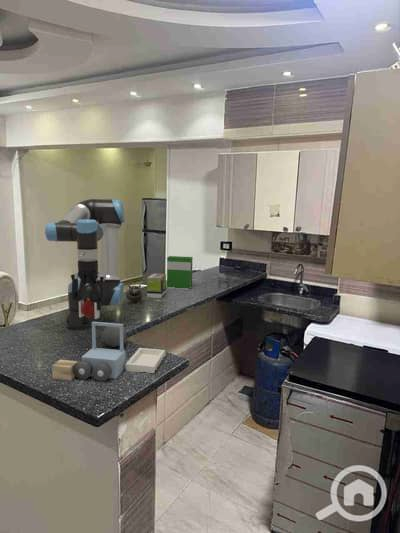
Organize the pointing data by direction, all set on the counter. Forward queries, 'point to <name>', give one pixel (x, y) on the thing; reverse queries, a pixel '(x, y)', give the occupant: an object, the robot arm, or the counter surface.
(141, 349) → the tray
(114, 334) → the decorative ball
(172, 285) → the hardback book
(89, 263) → the robot arm
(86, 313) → the red rounded piece
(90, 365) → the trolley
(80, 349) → the counter surface
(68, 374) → the block
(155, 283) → the tea box
